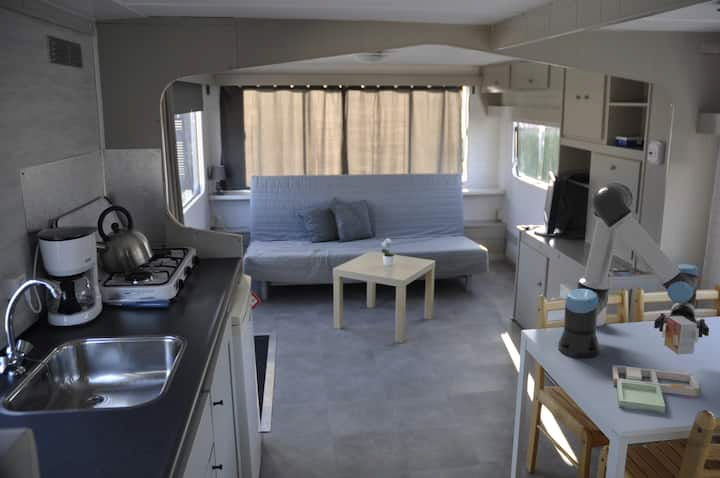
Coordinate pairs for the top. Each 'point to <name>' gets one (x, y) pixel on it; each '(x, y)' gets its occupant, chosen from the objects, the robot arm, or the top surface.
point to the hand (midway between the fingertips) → (680, 335)
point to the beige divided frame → (655, 374)
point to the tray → (640, 396)
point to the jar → (601, 317)
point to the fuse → (633, 374)
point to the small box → (680, 335)
